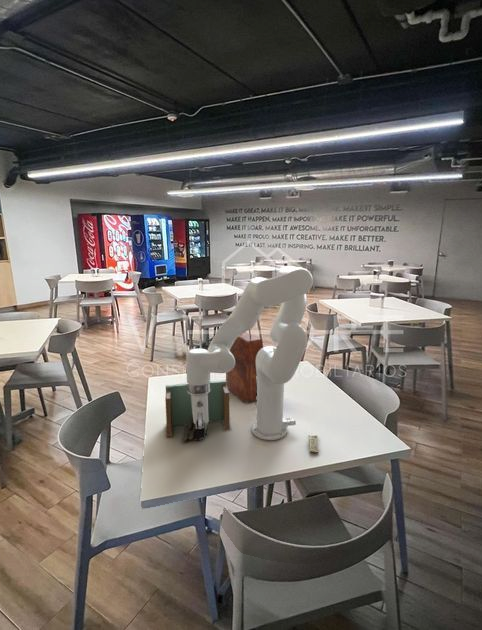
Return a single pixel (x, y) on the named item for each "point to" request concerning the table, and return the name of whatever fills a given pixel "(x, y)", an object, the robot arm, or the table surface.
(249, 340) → the handbag
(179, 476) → the table surface
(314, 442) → the snack bar
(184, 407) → the cubby shelf
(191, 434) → the chocolate cake
